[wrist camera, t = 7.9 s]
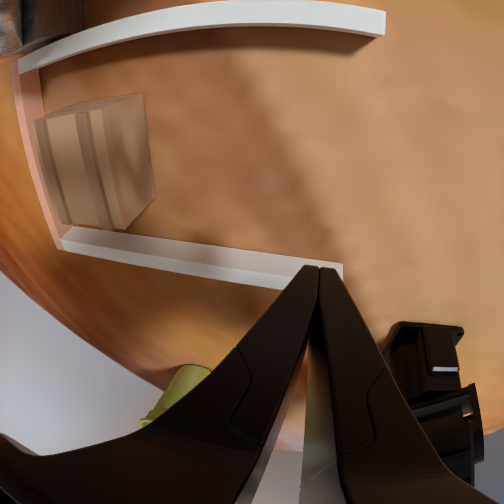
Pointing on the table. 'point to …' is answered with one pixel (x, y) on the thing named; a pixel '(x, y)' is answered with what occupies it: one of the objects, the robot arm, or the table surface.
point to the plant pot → (177, 390)
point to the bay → (156, 23)
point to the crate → (96, 161)
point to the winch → (37, 23)
